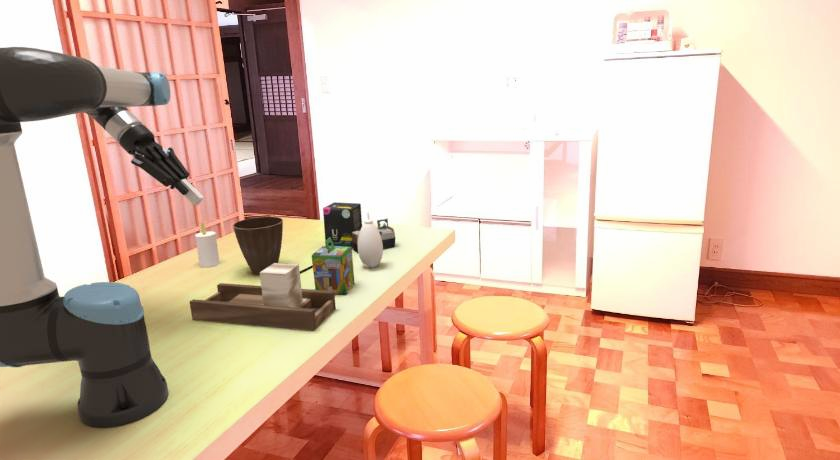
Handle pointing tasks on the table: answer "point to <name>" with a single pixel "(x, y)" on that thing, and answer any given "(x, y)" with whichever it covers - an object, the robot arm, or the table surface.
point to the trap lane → (263, 308)
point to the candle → (207, 248)
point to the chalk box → (333, 268)
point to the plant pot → (260, 241)
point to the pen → (306, 269)
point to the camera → (385, 233)
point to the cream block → (281, 285)
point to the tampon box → (342, 222)
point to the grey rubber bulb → (370, 244)
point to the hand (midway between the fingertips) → (199, 201)
